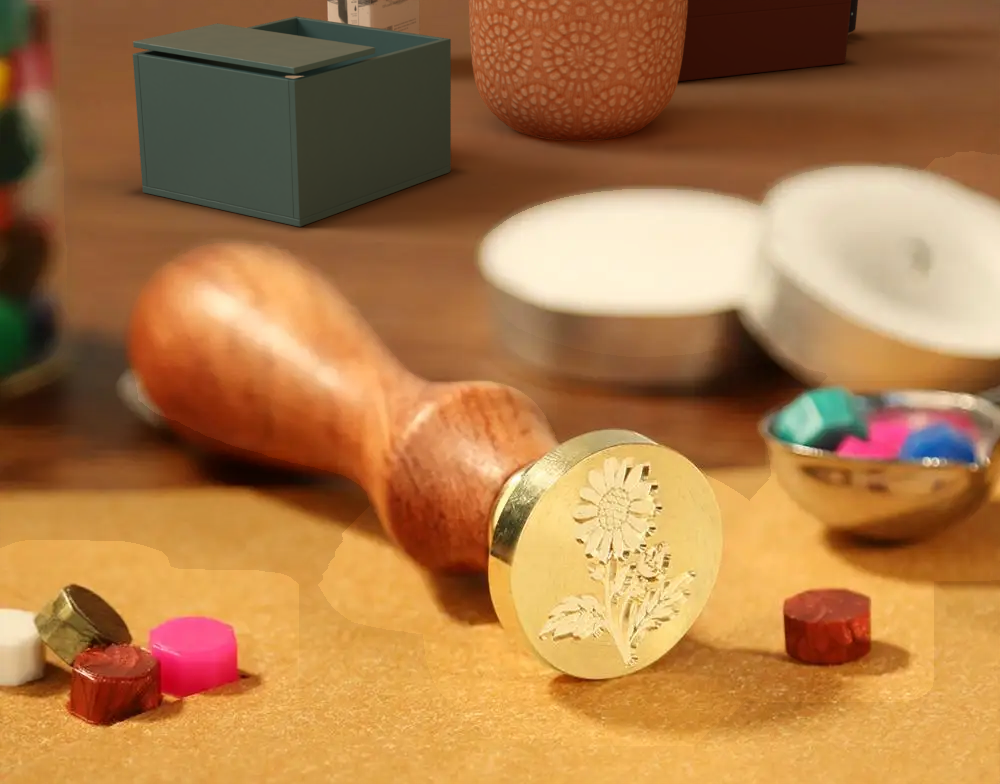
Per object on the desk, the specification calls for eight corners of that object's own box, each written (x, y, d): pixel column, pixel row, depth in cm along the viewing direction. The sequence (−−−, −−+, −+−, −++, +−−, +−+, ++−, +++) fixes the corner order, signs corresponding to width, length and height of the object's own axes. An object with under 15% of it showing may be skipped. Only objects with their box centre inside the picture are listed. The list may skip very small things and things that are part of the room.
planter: (674, 103, 152) (683, -87, 146) (691, 156, 137) (703, -55, 130) (469, 101, 152) (470, -90, 146) (463, 153, 137) (464, -58, 130)
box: (744, 31, 181) (751, -74, 177) (848, 63, 168) (858, -50, 164) (561, 49, 172) (563, -61, 168) (655, 84, 159) (660, -35, 155)
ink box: (376, 57, 168) (374, -77, 163) (422, 63, 166) (422, -72, 161) (326, 74, 161) (322, -65, 156) (373, 80, 159) (371, -60, 154)
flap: (294, 74, 115) (294, 67, 115) (133, 47, 122) (132, 41, 122) (375, 53, 121) (375, 47, 121) (217, 29, 128) (217, 23, 128)
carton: (299, 227, 119) (294, 80, 115) (142, 192, 126) (132, 53, 122) (450, 172, 132) (450, 38, 128) (300, 143, 139) (295, 16, 135)
